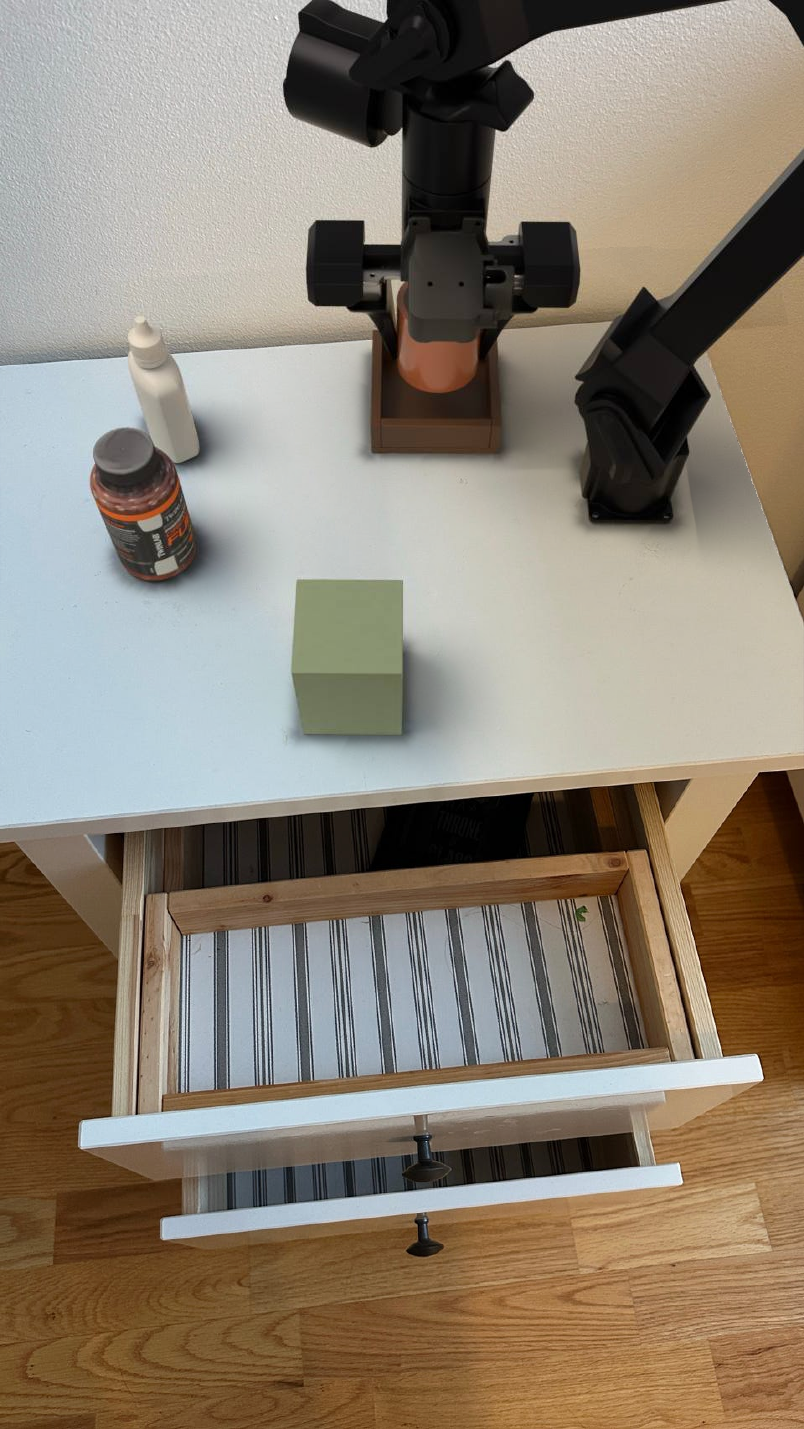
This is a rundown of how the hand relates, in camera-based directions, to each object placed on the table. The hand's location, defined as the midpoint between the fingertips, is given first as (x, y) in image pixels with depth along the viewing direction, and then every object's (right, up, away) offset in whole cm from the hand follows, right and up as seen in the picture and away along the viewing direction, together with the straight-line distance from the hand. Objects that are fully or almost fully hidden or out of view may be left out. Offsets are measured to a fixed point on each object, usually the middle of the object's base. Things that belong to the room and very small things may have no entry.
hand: (437, 355), depth 76 cm
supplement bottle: (-21, -16, -2) cm, 26 cm away
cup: (0, 0, +1) cm, 1 cm away
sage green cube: (-6, -26, -7) cm, 28 cm away
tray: (0, -2, +5) cm, 5 cm away
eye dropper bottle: (-21, -6, +3) cm, 22 cm away
